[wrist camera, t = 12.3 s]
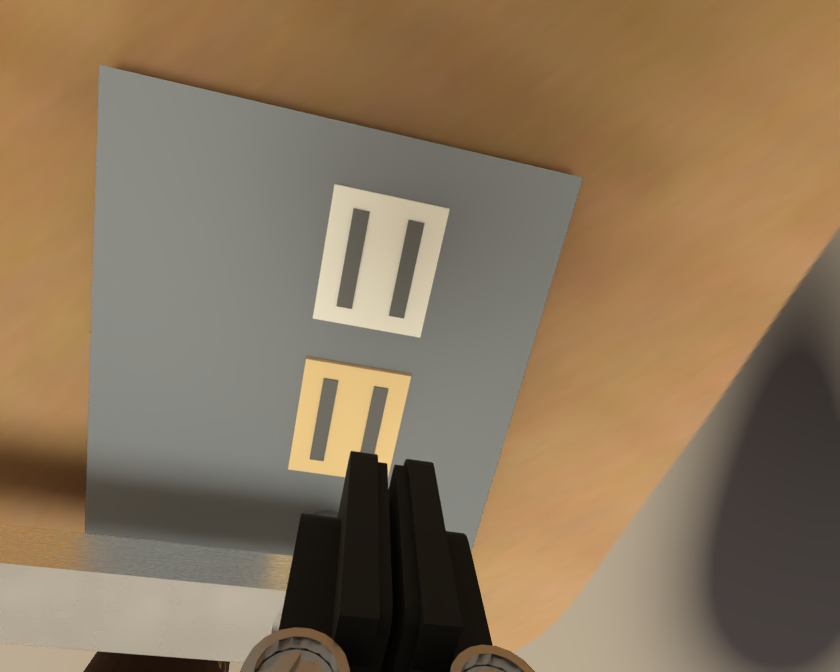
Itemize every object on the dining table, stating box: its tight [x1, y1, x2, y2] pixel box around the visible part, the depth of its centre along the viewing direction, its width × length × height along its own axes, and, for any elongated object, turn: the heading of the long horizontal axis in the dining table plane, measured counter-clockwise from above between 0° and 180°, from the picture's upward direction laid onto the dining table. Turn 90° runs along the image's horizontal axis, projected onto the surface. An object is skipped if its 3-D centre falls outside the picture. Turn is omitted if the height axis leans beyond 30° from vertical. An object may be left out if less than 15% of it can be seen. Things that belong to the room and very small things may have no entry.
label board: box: [85, 65, 583, 556], centre depth 25 cm, size 22×20×6 cm
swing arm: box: [0, 525, 293, 663], centre depth 23 cm, size 23×4×2 cm, turn 78°
